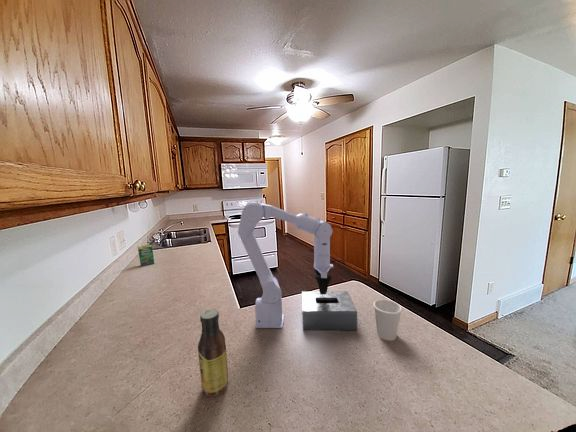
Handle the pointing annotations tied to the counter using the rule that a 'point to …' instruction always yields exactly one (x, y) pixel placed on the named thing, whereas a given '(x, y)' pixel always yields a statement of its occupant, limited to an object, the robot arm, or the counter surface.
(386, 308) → the dixie cup
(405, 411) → the counter surface
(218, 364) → the sauce bottle
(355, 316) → the money box
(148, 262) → the coffee box
